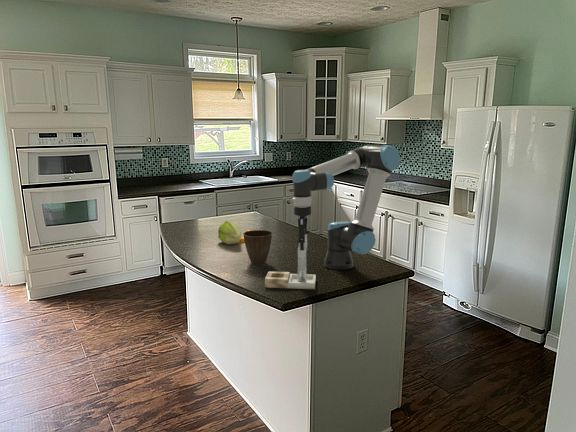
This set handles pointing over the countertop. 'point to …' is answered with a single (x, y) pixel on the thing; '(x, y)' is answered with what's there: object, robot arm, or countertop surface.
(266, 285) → the beige square frame
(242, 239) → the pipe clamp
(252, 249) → the plant pot
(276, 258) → the countertop surface
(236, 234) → the lettuce
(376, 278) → the countertop surface
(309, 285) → the tray
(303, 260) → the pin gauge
